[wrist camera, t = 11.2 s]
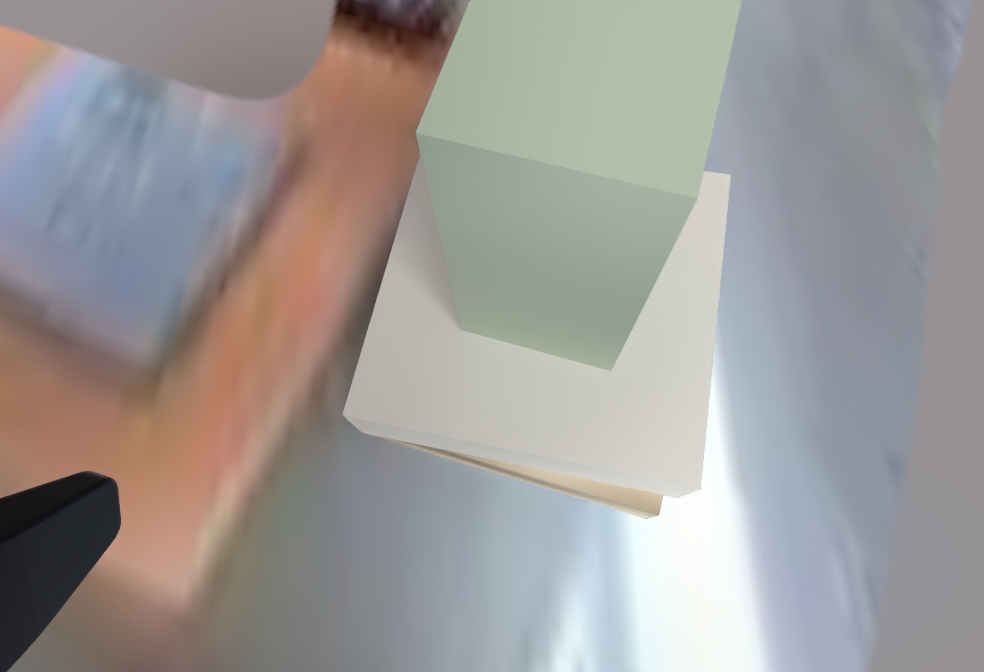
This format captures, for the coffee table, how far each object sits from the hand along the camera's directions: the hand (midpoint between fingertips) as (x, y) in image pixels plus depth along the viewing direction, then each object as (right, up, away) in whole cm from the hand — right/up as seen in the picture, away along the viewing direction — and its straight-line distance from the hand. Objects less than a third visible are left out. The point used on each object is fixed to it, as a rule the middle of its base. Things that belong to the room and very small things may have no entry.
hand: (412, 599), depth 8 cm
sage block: (+3, +5, +11) cm, 12 cm away
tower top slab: (+3, +4, +13) cm, 14 cm away
